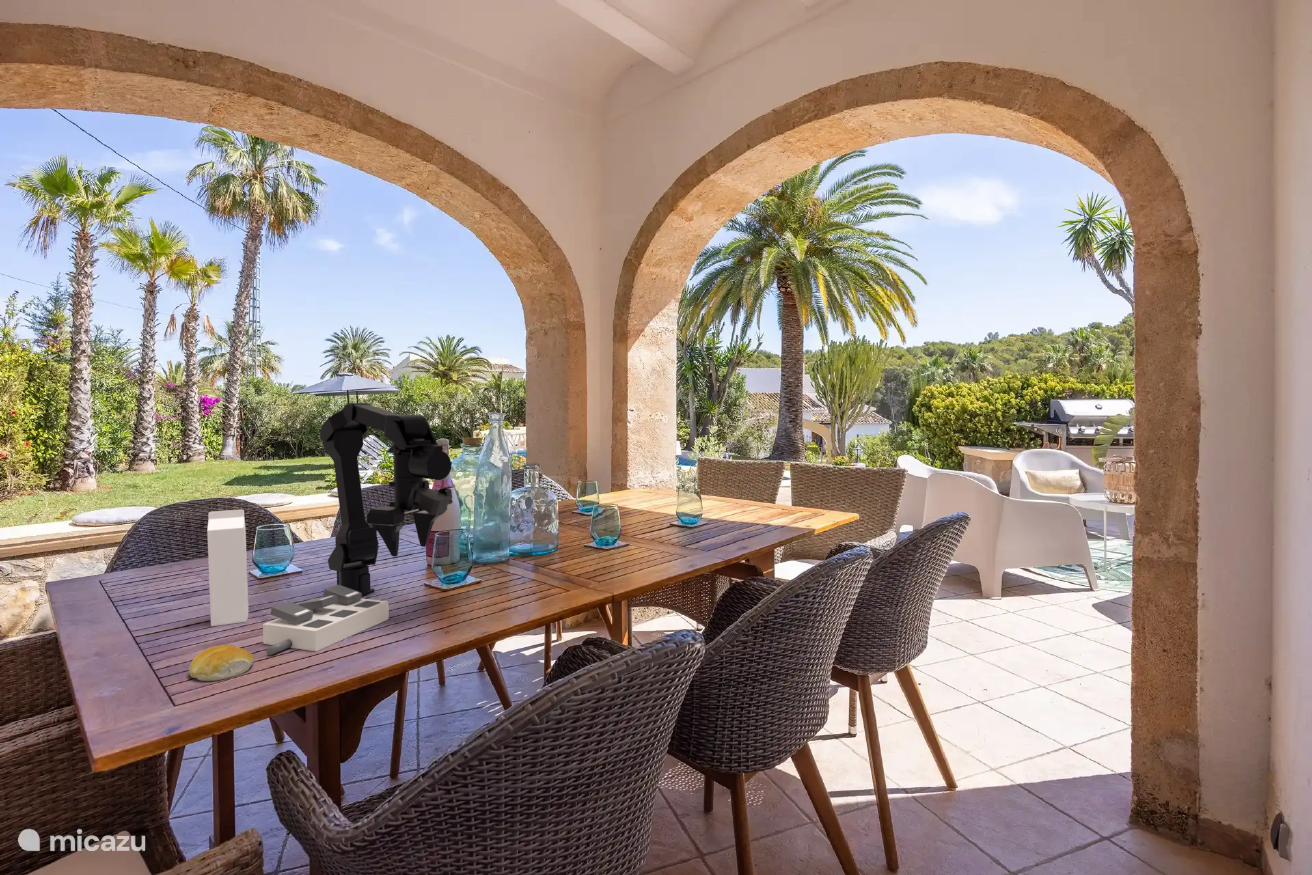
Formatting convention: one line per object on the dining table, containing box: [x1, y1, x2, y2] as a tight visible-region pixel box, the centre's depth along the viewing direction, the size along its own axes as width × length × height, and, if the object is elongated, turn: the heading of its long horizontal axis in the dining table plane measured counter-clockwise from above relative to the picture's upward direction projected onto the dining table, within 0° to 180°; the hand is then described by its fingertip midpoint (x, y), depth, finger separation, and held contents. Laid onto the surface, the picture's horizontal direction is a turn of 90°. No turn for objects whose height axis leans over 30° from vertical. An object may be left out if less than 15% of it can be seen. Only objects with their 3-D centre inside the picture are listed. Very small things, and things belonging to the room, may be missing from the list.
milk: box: [206, 509, 249, 627], centre depth 130 cm, size 6×6×22 cm
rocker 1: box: [270, 601, 313, 624], centre depth 119 cm, size 6×4×2 cm, turn 72°
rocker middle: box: [297, 595, 338, 610], centre depth 125 cm, size 6×4×2 cm, turn 71°
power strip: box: [262, 597, 390, 656], centre depth 122 cm, size 12×22×4 cm, turn 162°
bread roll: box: [188, 644, 254, 682], centre depth 106 cm, size 8×9×4 cm
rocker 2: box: [323, 584, 363, 605], centre depth 130 cm, size 6×4×2 cm, turn 72°
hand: (409, 551), depth 135 cm, fingers open, 9 cm apart
